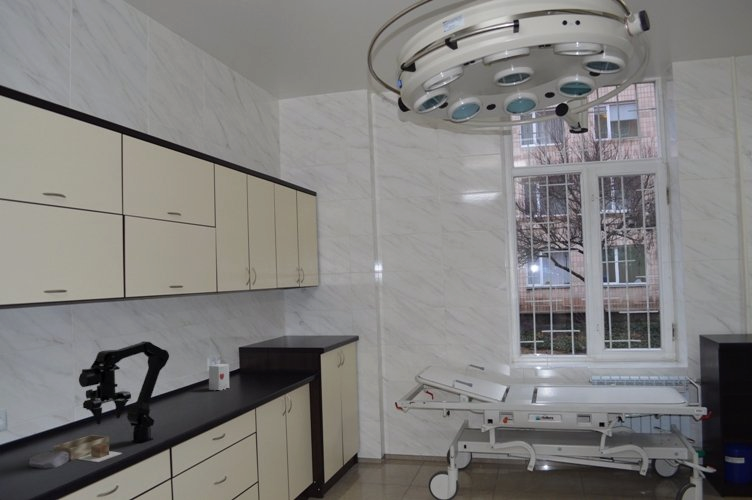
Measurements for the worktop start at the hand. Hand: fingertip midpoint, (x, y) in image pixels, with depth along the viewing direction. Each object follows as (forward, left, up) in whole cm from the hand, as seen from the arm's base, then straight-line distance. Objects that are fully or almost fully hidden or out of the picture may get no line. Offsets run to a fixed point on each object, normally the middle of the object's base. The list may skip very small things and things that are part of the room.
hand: (108, 421), depth 230 cm
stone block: (+20, -8, -12) cm, 25 cm away
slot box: (+6, -8, -12) cm, 15 cm away
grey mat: (+7, +3, -12) cm, 14 cm away
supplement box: (-117, -44, -12) cm, 126 cm away
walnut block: (+7, +3, -11) cm, 13 cm away
